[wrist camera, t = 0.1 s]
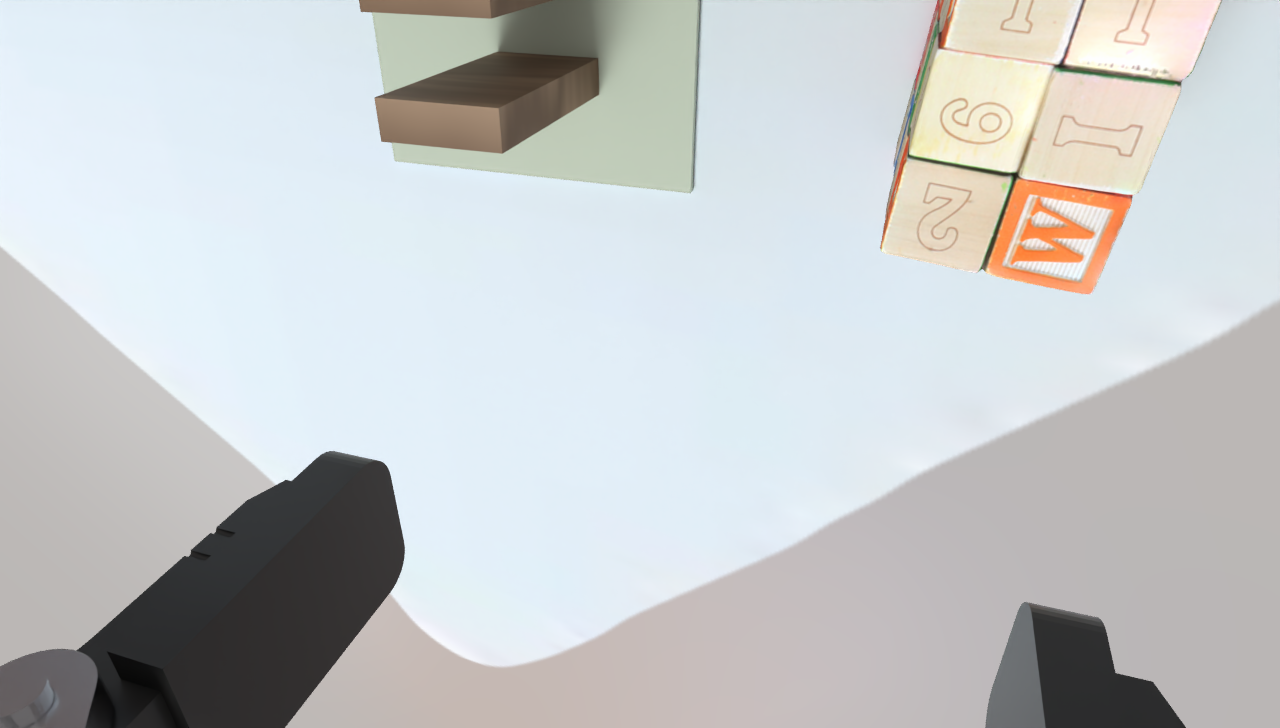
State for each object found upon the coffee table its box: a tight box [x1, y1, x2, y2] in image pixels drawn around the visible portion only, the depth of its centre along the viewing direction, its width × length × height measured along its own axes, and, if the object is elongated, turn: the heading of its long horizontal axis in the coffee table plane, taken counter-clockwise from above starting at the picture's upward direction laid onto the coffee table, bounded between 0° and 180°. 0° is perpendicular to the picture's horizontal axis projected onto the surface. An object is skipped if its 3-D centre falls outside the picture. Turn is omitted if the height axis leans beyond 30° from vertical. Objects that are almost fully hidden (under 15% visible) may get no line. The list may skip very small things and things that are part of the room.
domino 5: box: [375, 52, 599, 154], centre depth 33 cm, size 2×5×10 cm, turn 90°
